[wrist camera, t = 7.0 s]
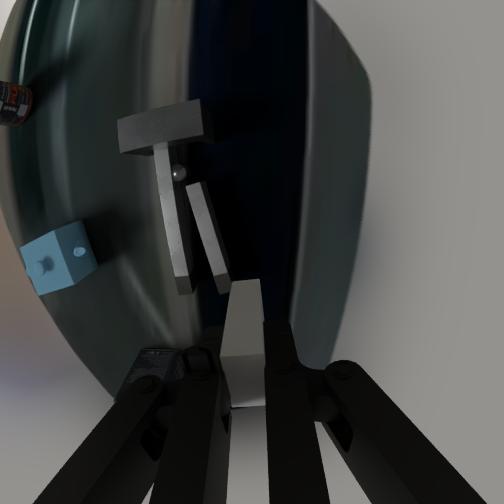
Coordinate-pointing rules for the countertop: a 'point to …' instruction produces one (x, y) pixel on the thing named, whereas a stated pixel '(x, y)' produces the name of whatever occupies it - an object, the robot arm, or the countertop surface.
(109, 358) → the countertop surface
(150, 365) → the box
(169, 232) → the tongs fixed
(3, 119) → the supplement bottle
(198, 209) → the tongs jaw
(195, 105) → the collar
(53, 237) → the blue teapot
